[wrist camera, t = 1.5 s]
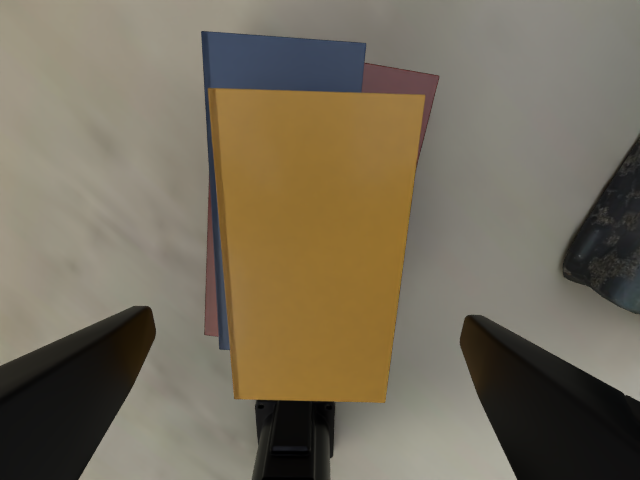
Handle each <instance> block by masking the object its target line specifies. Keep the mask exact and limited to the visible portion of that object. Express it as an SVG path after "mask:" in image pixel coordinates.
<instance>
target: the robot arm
mask: <svg viewBox="0 0 640 480" xmlns="http://www.w3.org/2000/svg"><path fill="white" fill-rule="evenodd" d="M155 336H156V328H155V323H154V318H153V313H152V310H151V308H150V307H148V306H133V307H131V308H128V309H126V310H124V311H122V312H120V313H117V314H115V315H113V316H111V317H108V318H106V319H104V320H102V321H100V322H97V323H95V324H93V325H91V326H88V327H86V328H84V329H82V330H79V331H77V332H75V333H73V334H71V335H68V336H66V337H64V338H62V339H59V340H57V341H55V342H53V343H50V344H48V345H46V346H44V347H42V348H39V349H37V350H35V351H33V352H30V353H28V354H26V355H24V356H21V357H19V358H17V359H15V360H13V361H10V362H8V363H6V364H4V365H1V366H0V480H78V479H79V478H80V476H81V474H82V473H83V471H84V469H85V467H86V466H87V464H88V462H89V461H90V459H91V457H92V456H93V454H94V452H95V450H96V449H97V447H98V445H99V444H100V442H101V440H102V438H103V437H104V435H105V433H106V432H107V430H108V428H109V426H110V425H111V423H112V421H113V420H114V418H115V416H116V415H117V413H118V411H119V409H120V408H121V406H122V404H123V403H124V401H125V399H126V397H127V396H128V394H129V392H130V390H131V389H132V387H133V385H134V383H135V381H136V378H137V376H138V374H139V372H140V370H141V368H142V365H143V363H144V361H145V359H146V357H147V354H148V352H149V350H150V348H151V346H152V343H153V341H154V339H155ZM460 346H461V349H462V352H463V355H464V358H465V361H466V364H467V366H468V369H469V372H470V375H471V378H472V381H473V383H474V386H475V389H476V392H477V394H478V397H479V399H480V401H481V404H482V406H483V408H484V410H485V412H486V414H487V417H488V419H489V421H490V423H491V425H492V427H493V429H494V431H495V433H496V436H497V438H498V440H499V442H500V444H501V446H502V448H503V450H504V453H505V455H506V457H507V459H508V461H509V463H510V465H511V467H512V469H513V472H514V474H515V476H516V478H517V480H640V402H639V401H637V400H635V399H634V398H632V397H630V396H628V395H624V393H622V392H621V391H619V390H617V389H615V388H613V387H612V386H610V385H608V384H606V383H604V382H602V381H601V380H599V379H597V378H595V377H593V376H591V375H590V374H588V373H586V372H584V371H582V370H581V369H579V368H577V367H575V366H573V365H571V364H570V363H568V362H566V361H564V360H562V359H561V358H559V357H557V356H555V355H553V354H551V353H550V352H548V351H546V350H544V349H542V348H541V347H539V346H537V345H535V344H533V343H531V342H530V341H528V340H526V339H524V338H522V337H520V336H519V335H517V334H515V333H513V332H511V331H510V330H508V329H506V328H504V327H502V326H500V325H499V324H497V323H495V322H493V321H491V320H490V319H488V318H486V317H484V316H482V315H468V316H466V317H465V320H464V324H463V328H462V332H461V336H460ZM260 404H262V405H260ZM327 405H330V406H327ZM255 412H256V424H257V437H258V450H257V455H256V460H255V465H254V470H253V475H252V480H330V458H332V457H333V443H334V416H335V403H334V401H294V400H257V401H256V405H255Z"/></svg>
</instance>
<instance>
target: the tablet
mask: <svg viewBox="0 0 640 480" xmlns="http://www.w3.org/2000/svg"><path fill="white" fill-rule="evenodd" d="M563 274H564V277H565V278H567V279H568V280H570V281H573V282H576V283H579V284H582V285H586V286H588V287H590V288H592V289H593V290H594V291H595V292H597V293H598V294H599V295H601V296H602V297H603V298H605V299H607V300H609V301H610V302H612V303H614V304H615V305H617V306H619V307H621V308H623V309H626V310H628V311H630V312H633V313H635V314H640V139H639V140H638V142H637V143H636V145H635V146H634V148H633V150H632V151H631V153H630V154H629V156H628V157H627V159H626V160H625V162H624V163H623V165H622V166H621V168H620V169H619V171H618V172H617V174H616V175H615V177H614V178H613V180H612V181H611V183H610V184H609V186H608V187H607V189H606V190H605V192H604V193H603V195H602V196H601V198H600V200H599V201H598V203H597V205H596V206H595V208H594V209H593V211H592V212H591V214H590V215H589V217H588V219H587V220H586V222H585V223H584V225H583V227H582V228H581V230H580V232H579V233H578V235H577V237H576V238H575V240H574V242H573V244H572V245H571V247H570V249H569V251H568V253H567V255H566V257H565V260H564V263H563Z"/></svg>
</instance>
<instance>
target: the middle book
mask: <svg viewBox="0 0 640 480" xmlns="http://www.w3.org/2000/svg"><path fill="white" fill-rule="evenodd" d="M201 35H202V53H203V70H204V88H205V106H206V123H207V141H208V158H209V176H210V193H211V211H212V228H213V246H214V263H215V281H216V298H217V316H218V334H219V349H220V350H230V344H229V332H228V320H227V308H226V297H225V285H224V273H223V262H222V250H221V238H220V227H219V215H218V203H217V191H216V180H215V168H214V156H213V145H212V133H211V121H210V110H209V98H208V88H226V89H258V90H290V91H322V92H354V93H361V92H362V81H363V71H364V61H365V51H366V43H358V42H344V41H331V40H317V39H303V38H290V37H276V36H262V35H249V34H235V33H221V32H207V31H201Z"/></svg>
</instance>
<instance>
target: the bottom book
mask: <svg viewBox="0 0 640 480" xmlns="http://www.w3.org/2000/svg"><path fill="white" fill-rule="evenodd" d="M438 80H439V76H438V75H432V74H427V73H421V72H415V71H409V70H404V69H398V68H392V67H386V66H380V65H375V64H369V63H364V71H363V81H362V92H361V93H386V94H418V95H425V103H424V110H423V118H422V126H421V133H420V141H419V149H418V156H417V163H418V159H419V155H420V152H421V148H422V144H423V140H424V136H425V132H426V128H427V124H428V120H429V116H430V112H431V108H432V104H433V100H434V96H435V92H436V88H437V84H438ZM416 167H417V164H416ZM204 335H209V336H217V337H219V334H218V316H217V298H216V281H215V263H214V246H213V228H212V211H211V193H210V176H209V197H208V230H207V264H206V297H205V331H204Z"/></svg>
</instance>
